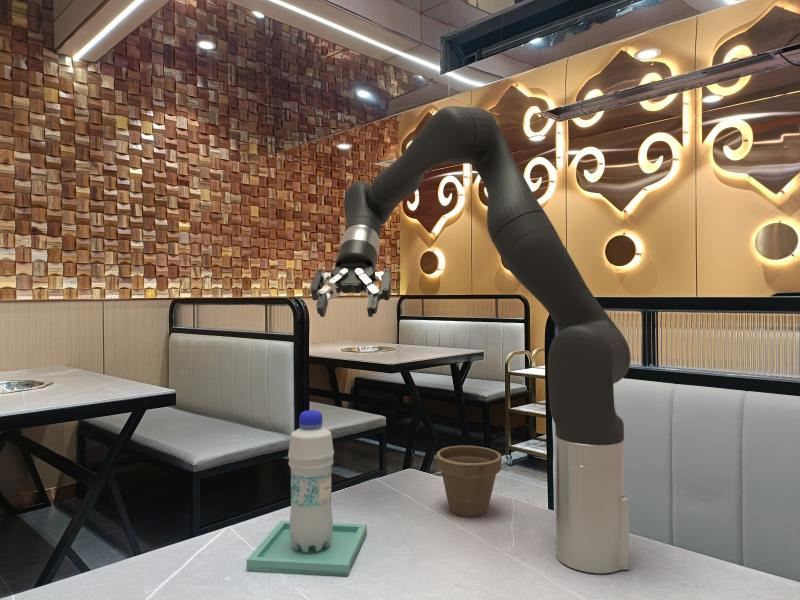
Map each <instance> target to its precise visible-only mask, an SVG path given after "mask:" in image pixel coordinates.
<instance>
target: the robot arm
mask: <svg viewBox="0 0 800 600" xmlns="http://www.w3.org/2000/svg"><path fill="white" fill-rule="evenodd" d="M509 147H510V146H509V144H508V143H507V140H506V138H505V136H504V134H503V132H502V129H501V128H500V126H499V123H498V121H497V120H496V119H495V117H494V116H493V115H492V114H491V113H490V112H489V111H488V110H486V109H484V108H481V107H480V108H479V107H474V106H473V107H470V106H459V105H449V106H444V107H442V108H440V109H439V110H438V111H436V112H435V113H434V114H433V115H431V117H430V118H429V120H428V121H427V122H426V123H425V125H424V126H423V127H422V129H421V130H419V132H418V134H417V135H416V136H415V137H414V139H413V140H412V141H411V143H410V144H409V145H408V146H407V148H406V149H405V150H404V151H403V152H402V154H401V155H400V156H399V157H398V158H396V160H395V161H393V163H391V164H390V165H388V166H387V167H386V168H385V169H383V170H382V171H380V173H378V175H376V176H375V178H373V180H372V182H371V184H370V182H369V183H368V182H367V181H363V180H357V181H355V182H353V183H351V185H349V187H348V188H347V190H346V192H345V195H344V198H343V199H344V201H343V209H344V216H345V222H346V227H345V231H344V233H343V236H342V238H341V241H340V245H339V249H338V253H337V256H336V261H335V265H334V269H333V270H332V271H331V272H324V269H322V268H319V269H317V270H316V271H315V274H314V277H313V280H312V282H311V285H310V287H309V291H310V296H311V298H312V300H313V301H316V304H315V309H316V311H317V315H319V317H322V318H324V317H325V316H326V314H327V310H328V305H329V301H330V300H332V299H333V298H337V297H339V296H340V295H341V294H351V293H353V294H361V292H362V293H363V294H364V295H365V296H366V297H367V298H368V302H367V306H366V307H367V309H366V310H367V315H368V316H367V317H368V318H373V317H374V315H375V314H376V315H377V313H378V307H379V303H380V301H382V300H384V301H389V300H390V299H391V288H392V286H391V284H392V279H391V271H390V268H388V267H387V268H385V267H384V268H383V269H382V271H378V272H377V271H376V269H377V262H378V257H379V254H380V251H379V250H380V238H381V231H382V226H383V225H385V224H386V223H387V222H388V220H389V219H390V217H391V215H392V214H393V211H394V210H395V209H396V207H397V206H398V205H399V204H400V203H402V202H403V201H404V200H406V199H407V198H409V197H411V196H412V195H413V194H414V193H415V192H416V191H418V189H419V188H420V186H421V185H422V183H423V181H424V179H425V178H424V177H425V174H426V172H427V171H429V170H430V169H432V168H434V167H437V166H440V165H442V164H447V163H449V164H456V165H457V164H459V165H461V164H464V165H465V164H470V165H471V166H472V167H473V169H475V171H476V172H477V174H478V175H479V178H480V179H481V181H482V183H483V185H484V187H485V189H486V193H487V208H486V209H487V212H486V225H487V232H488V235H489V237H490V240H491V242H492V244H493V245H494V247H495V250H496V251H497V252H498V254H499V256H500V258H501V260H502V262H503V263H504V265H505V266H506V268H507V270H508V271H509V272H510V273H511V274H512V276H513V277H514V278H515V279H516V280H517V281H518V282H519V283H520V284H521V285H522V286H523V287H524V289H526V290H527V291H528V292H529V293H530V294H531V295H532V296H533V297H534V298H535V299H536V300H537V301H538V302H539V303H540V304H541V305H542V307H544V309H545V310H546V312H548V314H549V316H550V317H551V319H552V321H553V322H554V325H555V326H556V328H557V330H558V333H557V334H556V335H555V337H553V339H552V341H551V343H550V347H549V351H548V357H547V358H548V359H547V360H548V361H547V377H548V396H549V397H548V398H549V410H550V415H551V419H552V420H553V423H554V427H555V429H554V430H555V548H556V550H555V553H556V555H555V556H556V558H557V559H558V561H559V562H560V563H562V564H563V565H564V566H566V567H569V568H571V569H575V570H578V571H579V572H580V571H581V572H586V573H590V574H592V573H593V574H610V573H617V572H618V571H622V570H623V571H624V570H627V571H629V570H630V501H629V498H628V497H627V496H626V495H625V425H624V421H623V419H622V418H621V417H620V416H619V415H618V414H617V412H616V408H615V392H614V390H615V387H614V384H616V383H618V382H620V381H622V379H623V378H624V377H625V376H626V375H627V374H628V371H629V369H630V367H631V362H632V361H631V360H632V358H631V356H632V355H631V351H630V347H629V344H628V341H627V339H626V338H625V336H624V335H623V333H622V332H621V331H620V329H619V328H618V326H617V325H616V324H615V322H614V321H613V320H612V319H611V317H610V316H609V315H608V313H607V312H606V311H605V309H604V308H603V307H602V305H601V304H600V303H599V301H598V300H597V298H596V297H595V296H594V295H593V293H592V291H591V290H590V289H589V287H588V285H587V284H586V282H585V280H584V279H583V276H582V274H581V273H580V271H579V269H578V267H577V265H576V264H575V262H574V260H573V258H572V256H571V255H570V253H569V252H568V249H567V248H566V247H565V245H564V243H563V240H562V239H561V237H560V236H559V233H558V232H557V230H556V228H555V227H554V225H553V223H552V222H551V220H550V218H549V216H548V215H547V214H546V211H545V210H544V208H543V207H542V206H541V204H540V202H539V201H538V199H537V197H536V196H535V194H534V193H533V191H532V189H531V188H530V186H529V184H528V182H527V180H526V178H525V177H524V175H523V173H522V172H521V170H520V168H519V166H518V164H517V162H516V160H515V158H514V156H513V154H512V151H511V149H510V148H509ZM377 280H378V281H379V283H381V288H379V289H378V288H377V287H376V286H375V285H374V283H375V282H376V281H377Z"/></svg>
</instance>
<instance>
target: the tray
mask: <svg viewBox="0 0 800 600" xmlns="http://www.w3.org/2000/svg"><path fill="white" fill-rule="evenodd" d="M367 526H368V525H367V524H363V523H362V524H359V523H341V522H340V523H339V522H333V533H332V539H331V542H330V544H329V546H328V547H326V548H323V547H322V549H321V550H320V551H318V552H316V551H315V546H314V545H313V546H309V551H308V552H307V553H305V552H303V551H302V549H300V550H296V549H295V548H294V547H293V546H292V543H291V538H290V520H280V521H279V522H278V523H277V524H276V526H275V527H274V528H273V529H272V530H271V531H270V532H269V534H268V535H267V536H266V537H265V538H264V539H263V540H262V542H260V544H259V545H258V546H257V547H256V548H255V550H254V551H252V553H251V554H250V555H249V556H248V558H247V559H246V571H247V572H262V573H277V574H278V573H281V574H295V575H312V576H331V577H348V576H349V575H350V572H351V570H352V568H353V565H354V563H355V560H356V559H357V558H358V557H357V556H358V555H359V553H360V550H361V548H362V545H363V543H364V542H365V539H366V536H367V533H368V529H367V528H368V527H367Z"/></svg>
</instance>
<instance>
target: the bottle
mask: <svg viewBox="0 0 800 600" xmlns="http://www.w3.org/2000/svg"><path fill="white" fill-rule="evenodd" d="M298 419H299V420H298V422H299V423H298V425H299V426H298V427H299V428H297V429H295V430H294V431H292V432H291V434H290V437H289V438H290V439H289V445H288V446H289V447H288V452H287V453H288V454H287V457H288V466H289V468H290V513H289V514H290V515H289V517H290V518H289V519H290V520H289V521H290V538H291V543H292V546H293V547H294V548H295V549H296V550H300V549H302V551H303V552H305V553H307V552H308V551H309V546H313V545H314V546H315V551H316V552H318V551H320V550H321V549H322V547H323V548H326V547H328V546H329V544H330V542H331V539H332V533H333V523H334V521H333V509H332V507H333V506H332V466H333V465H334V461H335V460H334V456H335V455H334V454H335V450H334V444H333V436H332V432H331V431H330V430H329V429H327V428H325V427H323V414H322V413H321V412H320V411H319V410H314V409H310V410H309V409H308V410H304V411H302V412H301V413H300V414H299V417H298Z"/></svg>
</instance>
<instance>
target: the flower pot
mask: <svg viewBox="0 0 800 600" xmlns="http://www.w3.org/2000/svg"><path fill="white" fill-rule="evenodd" d="M435 457H436V468H437V469H438V470H439V471H440V473H441V477H442V481H443V487H444V490H445V495H446V499H447V503H448V507H449V510H450V511H451V512H452V513H453V514H455V515H457V516H461V517H471V518H472V517H473V518H474V517H479V516H483V515H484V514H486V513H487V511H488V508H489V505H490V502H491V498H492V493H493V490H494V489H493V488H494V484H495V480H496V476H497V474H498V473H500V472H501V470H502V458H503V457H502V454H501V453H499V452H498V451H496V450H494V449H491V448H488V447H484V446H483V447H482V446H478V445H477V446H476V445H454V446H448V447H443V448H441V449H440V450H438V451H437V452H436V456H435Z"/></svg>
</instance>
